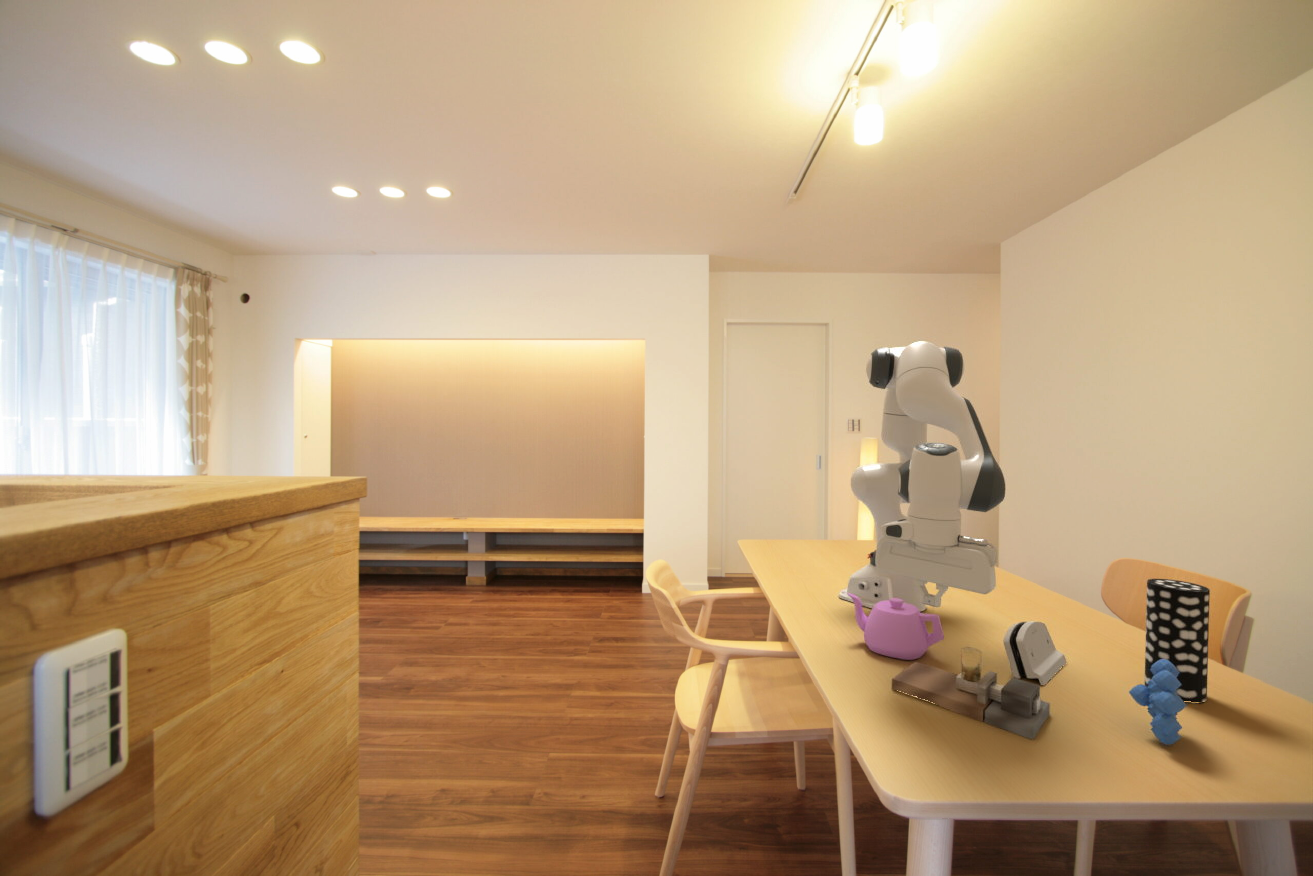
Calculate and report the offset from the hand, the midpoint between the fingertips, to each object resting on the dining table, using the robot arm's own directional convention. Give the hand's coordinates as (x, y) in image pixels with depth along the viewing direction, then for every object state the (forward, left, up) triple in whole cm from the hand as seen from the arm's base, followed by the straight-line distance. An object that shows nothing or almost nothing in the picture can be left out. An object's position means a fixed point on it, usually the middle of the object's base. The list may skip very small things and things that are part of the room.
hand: (930, 605), depth 101 cm
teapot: (-12, +13, -16) cm, 24 cm away
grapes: (+31, +10, -16) cm, 36 cm away
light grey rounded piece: (+11, +25, -16) cm, 32 cm away
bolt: (+11, 0, -13) cm, 17 cm away
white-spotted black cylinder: (+32, +32, -16) cm, 48 cm away
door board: (+7, 0, -16) cm, 17 cm away
